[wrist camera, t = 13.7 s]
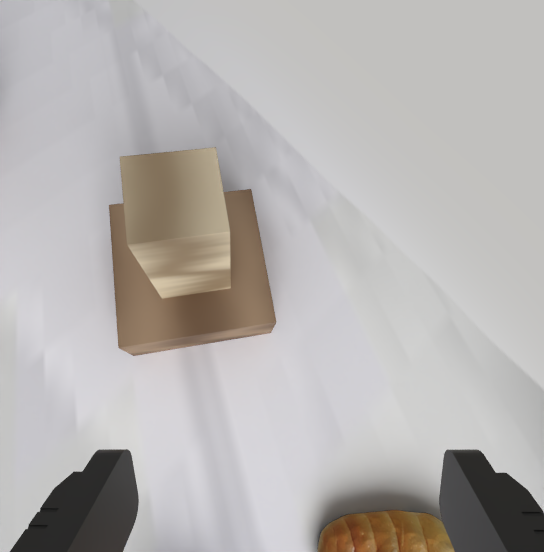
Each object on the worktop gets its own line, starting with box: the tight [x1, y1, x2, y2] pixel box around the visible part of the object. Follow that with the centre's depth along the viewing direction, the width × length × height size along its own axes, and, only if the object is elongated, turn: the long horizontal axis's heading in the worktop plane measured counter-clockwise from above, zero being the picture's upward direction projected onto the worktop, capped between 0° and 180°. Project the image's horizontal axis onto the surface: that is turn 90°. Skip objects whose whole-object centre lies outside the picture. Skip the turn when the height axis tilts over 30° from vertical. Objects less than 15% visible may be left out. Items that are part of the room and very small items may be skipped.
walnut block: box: [109, 189, 276, 356], centre depth 28 cm, size 10×10×4 cm
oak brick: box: [120, 147, 231, 299], centre depth 22 cm, size 4×4×9 cm
